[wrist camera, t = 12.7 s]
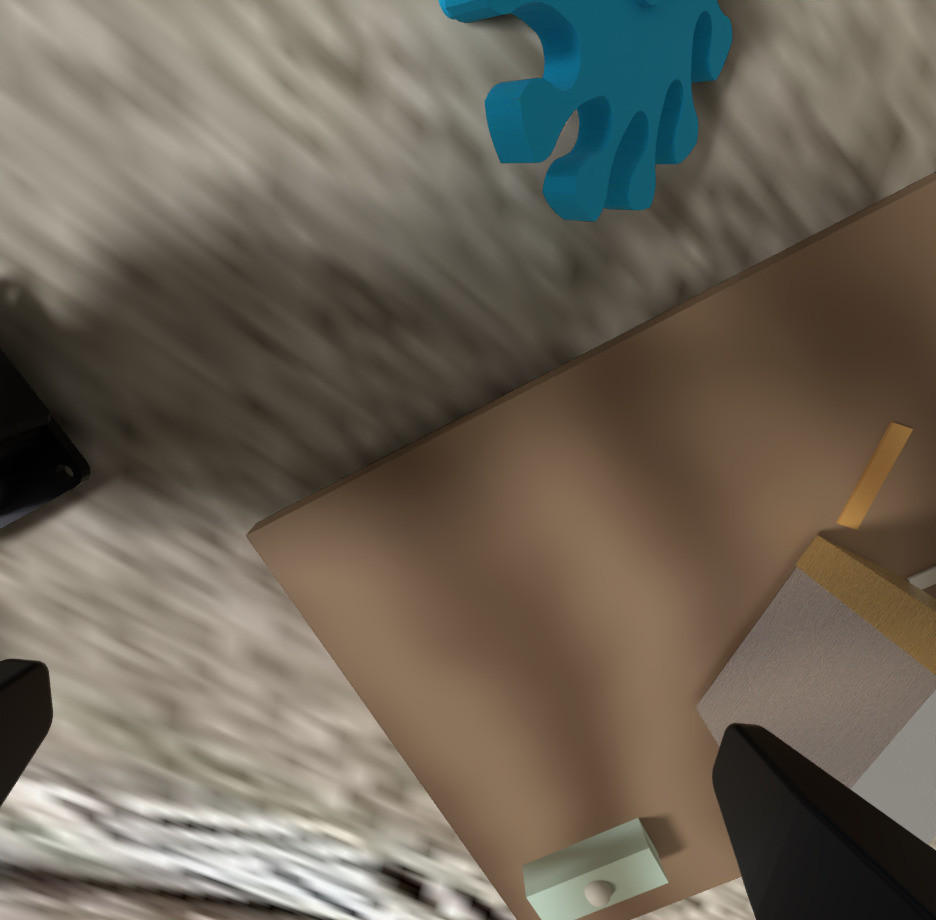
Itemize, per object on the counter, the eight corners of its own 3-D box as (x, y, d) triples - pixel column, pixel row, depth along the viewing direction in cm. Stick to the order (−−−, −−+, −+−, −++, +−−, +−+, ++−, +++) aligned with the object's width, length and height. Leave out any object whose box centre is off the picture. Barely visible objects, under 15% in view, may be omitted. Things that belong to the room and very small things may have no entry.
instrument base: (537, 928, 24) (548, 1004, 21) (256, 522, 18) (224, 560, 16) (1086, 711, 21) (1173, 768, 19) (966, 156, 16) (1068, 128, 13)
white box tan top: (765, 735, 20) (882, 898, 14) (693, 705, 19) (787, 863, 14) (891, 571, 18) (1080, 688, 13) (816, 534, 17) (979, 640, 12)
